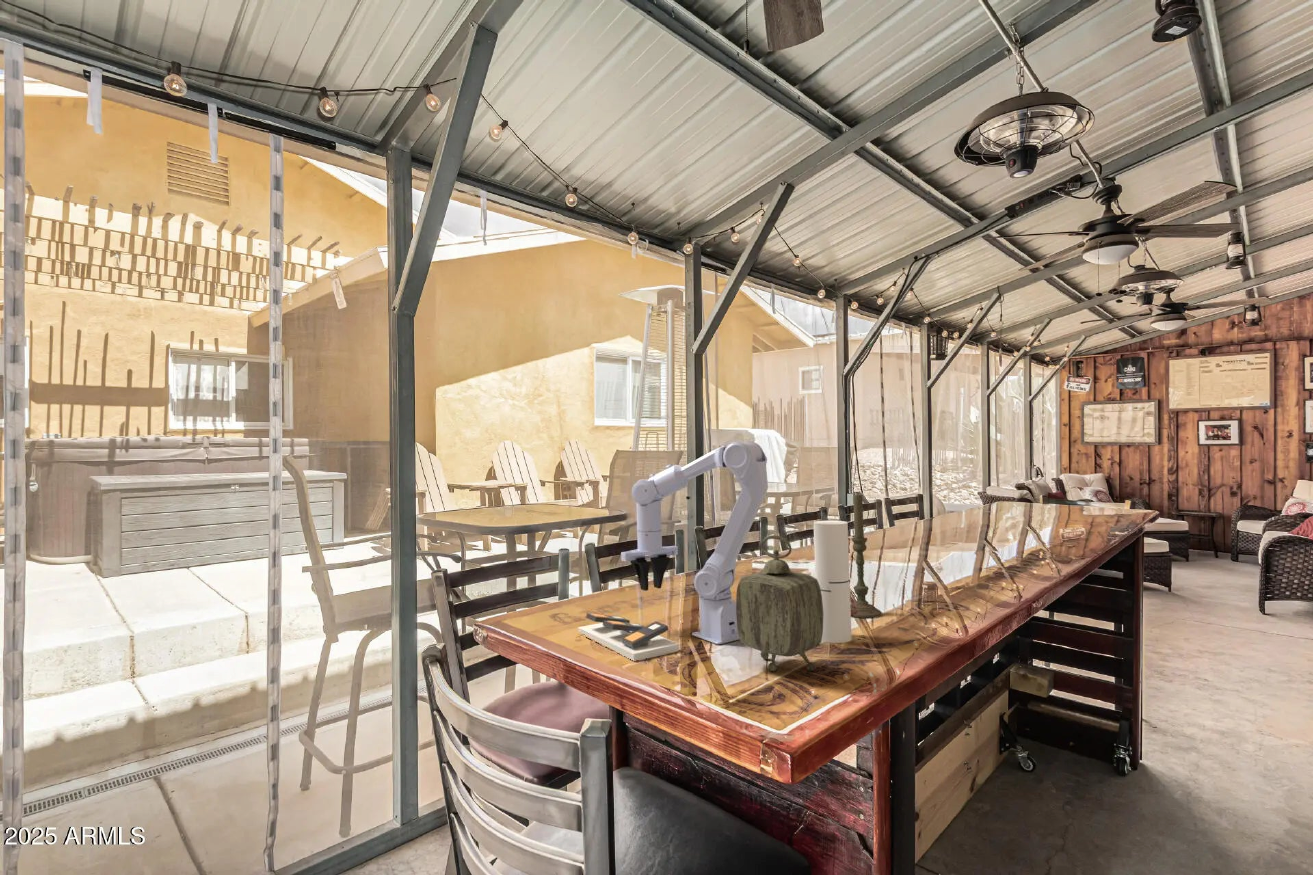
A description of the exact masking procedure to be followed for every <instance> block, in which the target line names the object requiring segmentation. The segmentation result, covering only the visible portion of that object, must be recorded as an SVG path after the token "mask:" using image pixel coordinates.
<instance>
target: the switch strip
mask: <svg viewBox="0 0 1313 875" xmlns="http://www.w3.org/2000/svg"><path fill="white" fill-rule="evenodd" d="M578 632H581V633H582V634H585V635H586V636H589V637H590V638H591V639H594V640H595V641H597V642H599V643H602V644H603V645H605V646H607V647H609V648H611V649H613V650H615V651H616V652H618V653H620V654H622V655H623V656H622V657H624V656H626V657H627V658H626V657H625V658H626V659H628V658H629V659H628V660H630V659H631V660H630V661H632V660H633V661H632V662H634V661H635V660H639V661H643V660H646V658H647V659H652V658H656V657H659V656H660V657H661V656H664V655H669V654H672V653H677V652H680V643H679V642H676V641H673V640H671V639H668V638H665V637H663V636H661V635H658V636H656V637H654V638H652V639H650V640H649V641H647V642H645V643H643V644H641V645H639V646H637V647H635V648H631V647H629V646H627V645H625V644H622V640H621V639H622V638H624V637H626V636H628V635H630V634H632V633H634V632H636V631H625V630H614V629H610V628H608V627H606V626H604V625H603V622H598V623H594V624H589V625H583V626H578V627H577V633H578ZM635 662H636V661H635Z"/></svg>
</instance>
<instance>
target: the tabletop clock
mask: <svg viewBox="0 0 1313 875" xmlns="http://www.w3.org/2000/svg"><path fill="white" fill-rule="evenodd" d="M773 539H774V540H780V541H782V542H784V543H785V544H786V545H787V546H788V551H787V552H786V553H783V554H780V553H779V550H777V549H774V550H773V553H772V552H771V553H770V552H768V551H767V550H766V549H765V548H764V544H765V543H766V542H767V541H768V540H773ZM761 540H762V541H761V542H760V548H761V551H762V552H763V553H764V555H766V556H768V557H769V558H773V559H770V560H767V562H766V563H765V564H764V566H763V570H762V571H759V572H756V573H755V572H754V573H752V574H747V575H744V576H742V577H740V579H739V582H738V585H737V587H736V596H735V597H736V598H735V602H736V616H737V629H738V634H739V638H740V639H739V641H740V642H741V643H742V644H744V645H745V646H747V647H749V648H752V649H754V650H757V651H760V657H761V658H762V659H764V660H767V659H768V658H769V656H770V655H771V662H770V663H768V665H767V666H768V667H767V668H768V670H769V672H772V673H773V672H776V671H777V668H778V667H777V666H778V665H777V664H776V663H775V662H776V657H777V656H780V657H785V658H786V657H787V658H789V657H791V658H792V657H794V656H798V655H799V656H800V657H801V659H803V660H804V661H805V663H806V669H807V670H808V671H810V672H813V671H815V670H816V669H817V668H816V664H815V663H814V662H813V661H810V660H809V658H808V656H807V655H806V653H805V652H807V651H810V650H812V649H815V648H817V647H820V644H821V642H822V641H821V640H822V634H823V616H824V613H823V603H822V594H821V590H820V586H819V583H818V581H817V579H816V578H815V577H814V576H812V575H810V574H808V573H805V572H800V571H795V570H792V569H791V568H790V566H789V564H788V563H787V562H786V561H785V560H784V558H786V557H787V558H788V557H789V556H790V555H791V553H792V546H791V543H790V541H789V540H788V539H786V538H785V537H784V536H781V535H767V536H765V537H764V538H763V539H761Z"/></svg>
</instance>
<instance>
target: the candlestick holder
mask: <svg viewBox="0 0 1313 875" xmlns="http://www.w3.org/2000/svg"><path fill="white" fill-rule="evenodd" d="M852 496H853V500H852V501H853V524H854V525H853V526H854V527H853V530H854V537H852V538H851V542H853V545H852V549H853V551H854V552H856V556H855V557H856V559H855V564H856V569H857V570H856V574H857V583H856V585H854V586H853V590H854V594H855V595H856V596H857V597H856V598H857V599H856V601H854V602H853V603H850V608H851V618H857V619H874V618H879V617H881V616H882V610H880V609H878V608H877V607H876V606H874V605H873V604H871V603H869V602H868V601H867V598H866V595H868V593H869V587H868V586H867V585H866V583H865V580H864V576H865V573H864V572H865V571H864V568H865V567H864V565H865V558H864V557H865V556H864V553H863V552H865V551H866V550H867V547H868V546H867V545H866V543H867V542H868V537H865V535H864V534H865V530H864V528H865V527H864V505H863V503H864V502H863V494H859V493H858V492H857V491H856V494H853V495H852Z"/></svg>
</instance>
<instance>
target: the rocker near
mask: <svg viewBox="0 0 1313 875" xmlns="http://www.w3.org/2000/svg"><path fill="white" fill-rule="evenodd" d="M667 631H669V627H668V625H667V624H664V623H661V622H659V621H653V622H652V623H651V624H649V625H645V627H644V628H642V629H640V630H638V631H636V632H634V633H632V634H630V635H628V636H626V637H624V638H622V639H621V640H622V644H625V645H627V646H629V647H631V648H635V647H637V646H639V645H641V644H643V643H645V642H647V641H649V640H650V639H652V638H654V637H656V636H658V635H659V636H661V635H662V634H664V633H666V632H667Z"/></svg>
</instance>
